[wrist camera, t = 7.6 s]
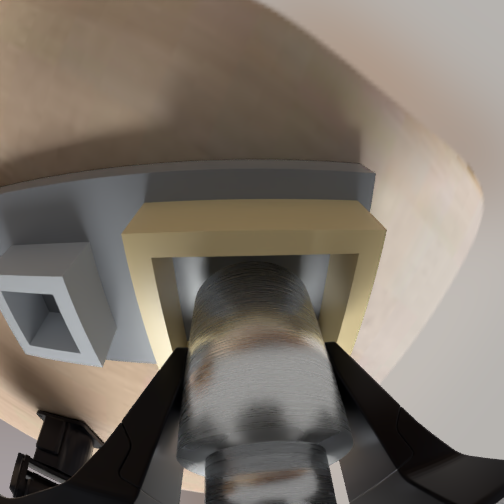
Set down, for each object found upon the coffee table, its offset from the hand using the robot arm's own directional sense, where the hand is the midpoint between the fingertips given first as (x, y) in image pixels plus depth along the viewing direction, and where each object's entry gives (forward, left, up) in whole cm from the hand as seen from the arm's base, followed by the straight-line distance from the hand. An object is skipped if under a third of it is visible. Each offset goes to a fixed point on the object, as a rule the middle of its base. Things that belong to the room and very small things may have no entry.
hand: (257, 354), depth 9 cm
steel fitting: (0, 0, -2) cm, 2 cm away
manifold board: (0, +4, -5) cm, 7 cm away
